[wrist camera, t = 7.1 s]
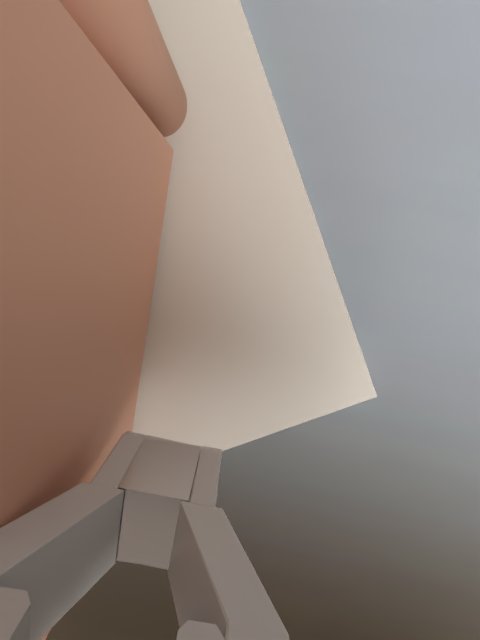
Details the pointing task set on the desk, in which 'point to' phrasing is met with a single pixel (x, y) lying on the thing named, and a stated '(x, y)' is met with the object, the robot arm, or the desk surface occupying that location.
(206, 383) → the card
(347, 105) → the desk surface
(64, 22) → the fence gate
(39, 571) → the robot arm
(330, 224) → the desk surface
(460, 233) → the desk surface
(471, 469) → the desk surface
